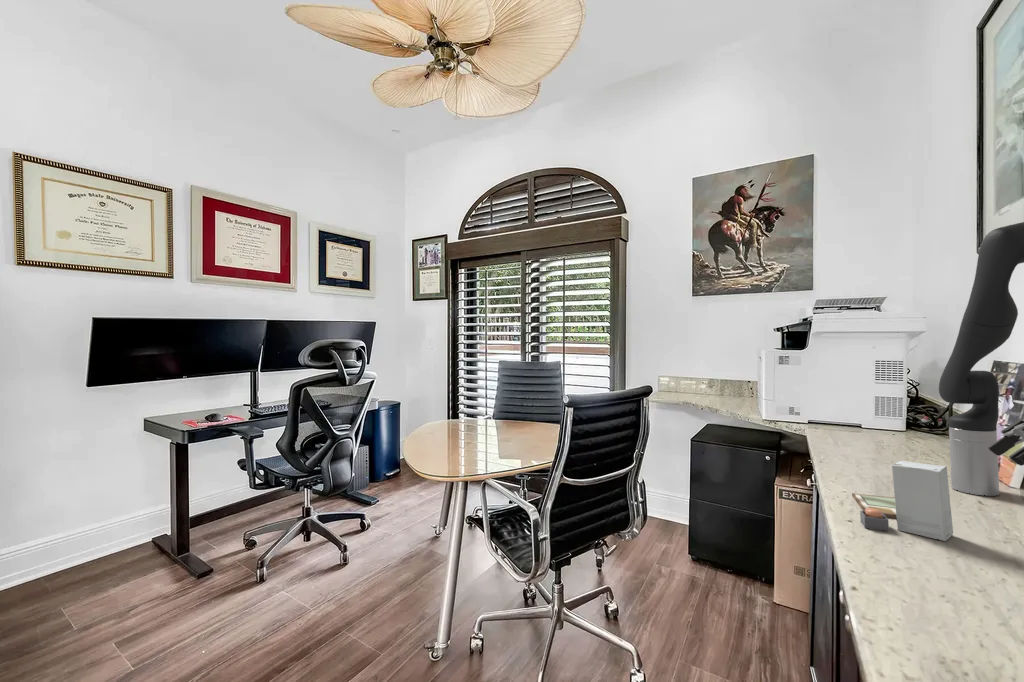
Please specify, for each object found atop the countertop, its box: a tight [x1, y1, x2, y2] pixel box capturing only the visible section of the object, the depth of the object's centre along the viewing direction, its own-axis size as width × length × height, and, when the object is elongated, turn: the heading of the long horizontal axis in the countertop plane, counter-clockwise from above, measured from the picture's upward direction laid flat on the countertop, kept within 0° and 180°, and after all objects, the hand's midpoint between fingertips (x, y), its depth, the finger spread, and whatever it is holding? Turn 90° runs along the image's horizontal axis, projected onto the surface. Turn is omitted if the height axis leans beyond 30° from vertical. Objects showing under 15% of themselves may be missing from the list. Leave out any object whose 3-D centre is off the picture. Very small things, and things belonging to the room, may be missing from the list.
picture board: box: [851, 492, 897, 519], centre depth 112 cm, size 15×13×1 cm
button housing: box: [859, 510, 890, 532], centre depth 101 cm, size 4×4×3 cm
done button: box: [865, 508, 882, 518], centre depth 101 cm, size 3×3×2 cm
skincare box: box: [891, 460, 954, 542], centre depth 97 cm, size 8×6×15 cm
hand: (1003, 456), depth 92 cm, fingers open, 8 cm apart
